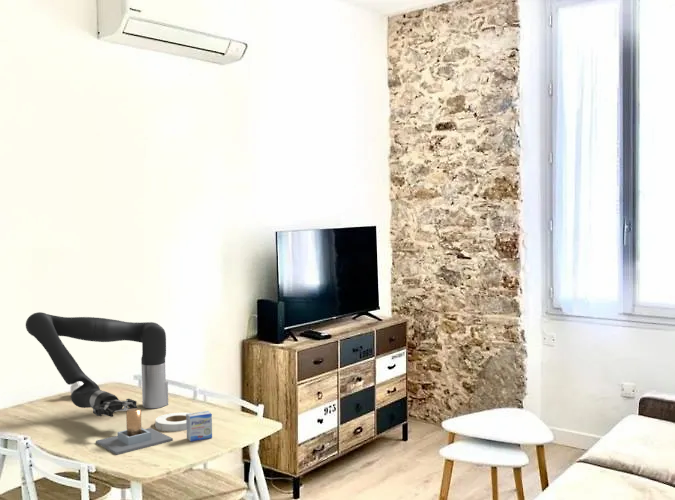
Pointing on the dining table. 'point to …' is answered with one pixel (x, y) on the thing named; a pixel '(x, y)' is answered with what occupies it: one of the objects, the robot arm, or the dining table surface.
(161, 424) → the roll of tape
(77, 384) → the duck figurine
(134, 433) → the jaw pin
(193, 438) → the medicine box
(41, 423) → the dining table surface
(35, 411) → the dining table surface
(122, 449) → the housing
